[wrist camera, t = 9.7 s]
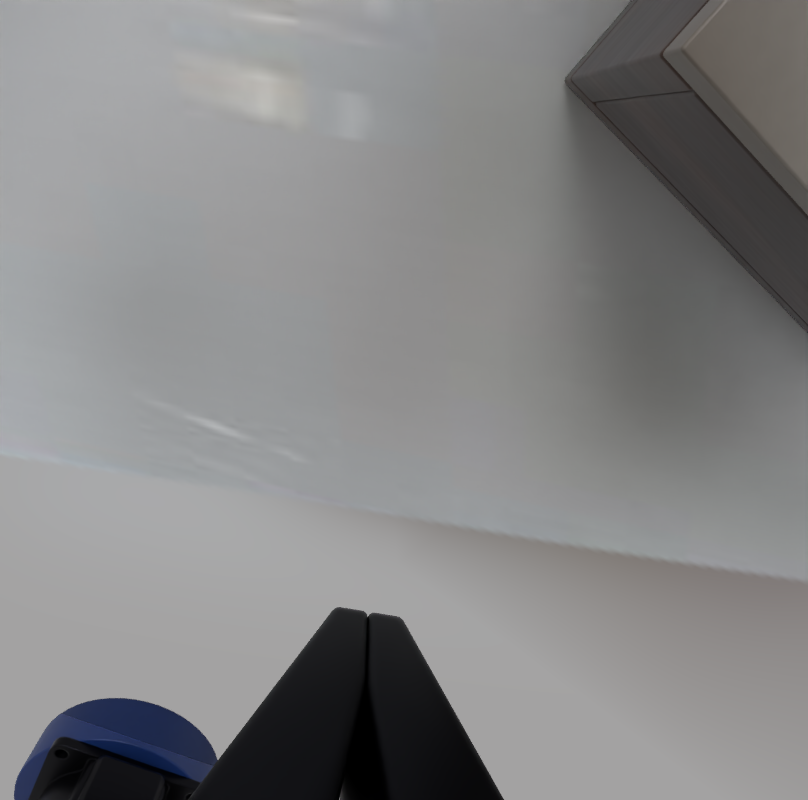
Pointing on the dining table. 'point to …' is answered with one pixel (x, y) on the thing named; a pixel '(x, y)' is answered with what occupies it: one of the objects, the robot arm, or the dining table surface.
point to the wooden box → (694, 147)
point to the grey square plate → (754, 79)
